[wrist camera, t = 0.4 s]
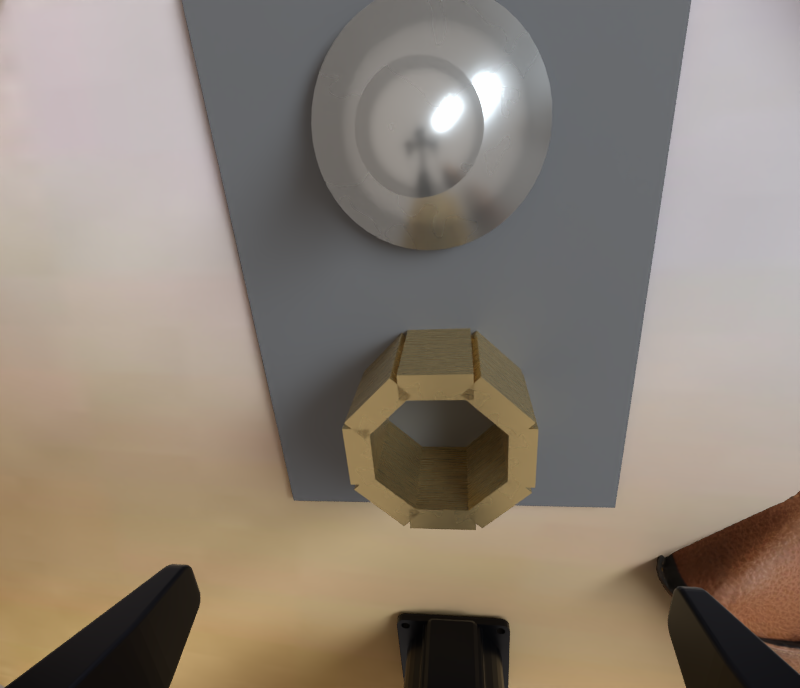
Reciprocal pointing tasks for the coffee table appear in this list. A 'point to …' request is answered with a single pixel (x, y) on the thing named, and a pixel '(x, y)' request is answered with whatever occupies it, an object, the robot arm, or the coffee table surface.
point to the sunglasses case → (750, 574)
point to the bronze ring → (442, 466)
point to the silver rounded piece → (431, 119)
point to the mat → (458, 266)
